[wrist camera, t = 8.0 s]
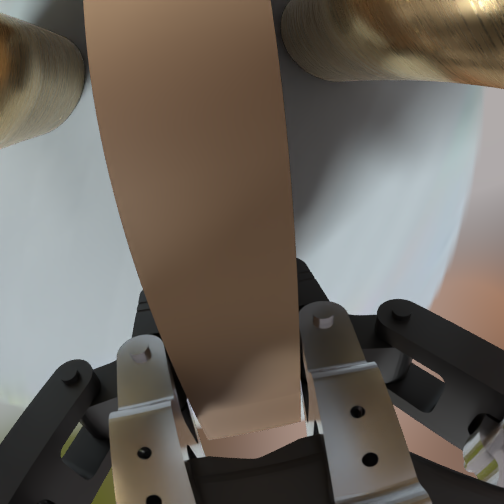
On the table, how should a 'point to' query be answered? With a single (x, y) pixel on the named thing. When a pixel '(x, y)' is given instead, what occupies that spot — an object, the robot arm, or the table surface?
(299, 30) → the cylinder
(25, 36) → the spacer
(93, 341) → the table surface
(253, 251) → the rake
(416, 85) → the table surface
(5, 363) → the table surface
